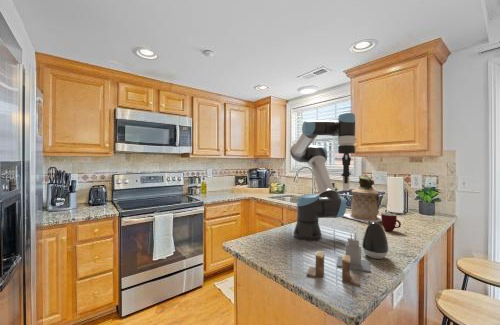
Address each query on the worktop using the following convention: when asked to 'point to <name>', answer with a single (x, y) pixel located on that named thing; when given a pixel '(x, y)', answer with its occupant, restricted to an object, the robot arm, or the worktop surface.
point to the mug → (389, 221)
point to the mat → (362, 267)
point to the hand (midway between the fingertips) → (346, 189)
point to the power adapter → (354, 251)
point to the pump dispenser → (375, 241)
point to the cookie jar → (365, 202)
